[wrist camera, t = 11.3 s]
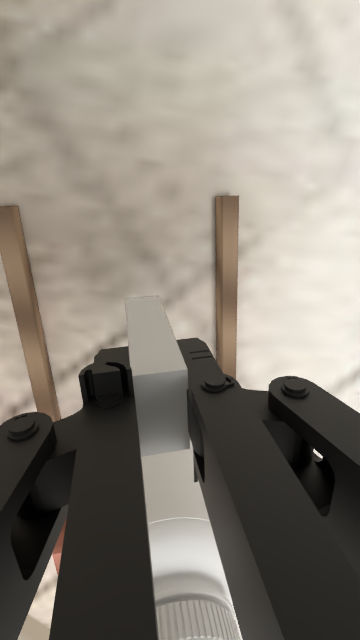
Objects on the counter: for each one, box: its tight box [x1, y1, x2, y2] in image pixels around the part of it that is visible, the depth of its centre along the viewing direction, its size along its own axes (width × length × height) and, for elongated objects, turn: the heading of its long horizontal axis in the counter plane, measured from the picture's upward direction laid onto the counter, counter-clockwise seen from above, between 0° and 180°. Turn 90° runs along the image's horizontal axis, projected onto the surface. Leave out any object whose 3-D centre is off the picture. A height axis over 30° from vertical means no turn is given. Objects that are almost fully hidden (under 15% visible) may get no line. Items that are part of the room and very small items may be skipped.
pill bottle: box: [141, 439, 240, 640], centre depth 20 cm, size 8×8×15 cm
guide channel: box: [0, 196, 239, 574], centre depth 22 cm, size 24×14×5 cm, turn 3°
